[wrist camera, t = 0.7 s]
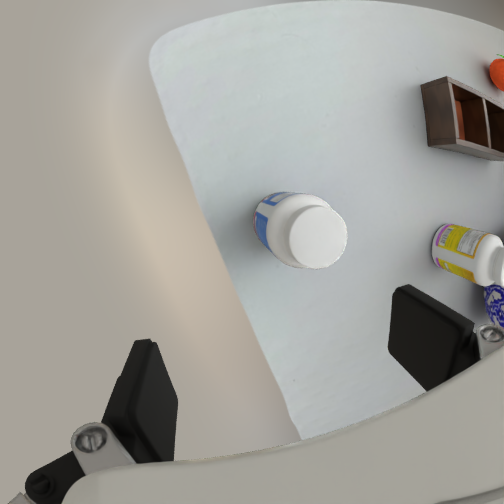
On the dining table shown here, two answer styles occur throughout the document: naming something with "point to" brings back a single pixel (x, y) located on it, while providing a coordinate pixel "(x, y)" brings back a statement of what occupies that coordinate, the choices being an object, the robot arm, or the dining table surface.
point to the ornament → (495, 303)
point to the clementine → (497, 73)
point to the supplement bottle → (469, 254)
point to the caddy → (463, 119)
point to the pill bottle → (300, 229)
